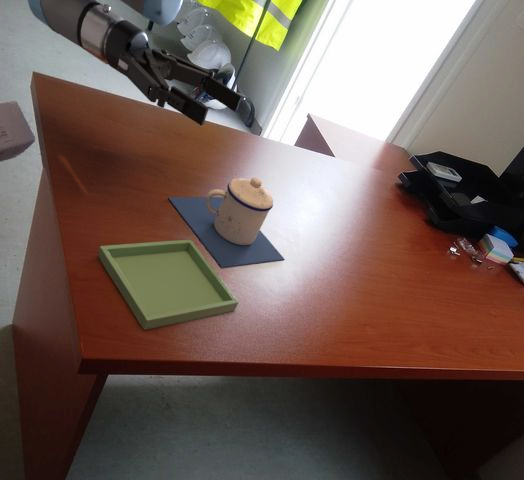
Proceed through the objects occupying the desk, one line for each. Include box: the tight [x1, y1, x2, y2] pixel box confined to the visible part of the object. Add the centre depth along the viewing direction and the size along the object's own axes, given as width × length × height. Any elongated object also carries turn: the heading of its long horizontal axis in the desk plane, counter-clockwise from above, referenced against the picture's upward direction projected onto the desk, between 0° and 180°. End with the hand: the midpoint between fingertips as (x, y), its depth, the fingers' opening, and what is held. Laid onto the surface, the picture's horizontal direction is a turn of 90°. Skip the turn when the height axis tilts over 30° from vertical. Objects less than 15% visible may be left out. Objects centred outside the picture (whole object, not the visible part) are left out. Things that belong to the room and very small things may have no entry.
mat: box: [167, 196, 285, 269], centre depth 90 cm, size 20×16×1 cm
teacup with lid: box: [205, 177, 274, 245], centre depth 85 cm, size 12×9×12 cm
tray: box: [97, 239, 239, 331], centre depth 72 cm, size 16×17×2 cm
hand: (223, 110), depth 77 cm, fingers open, 13 cm apart
